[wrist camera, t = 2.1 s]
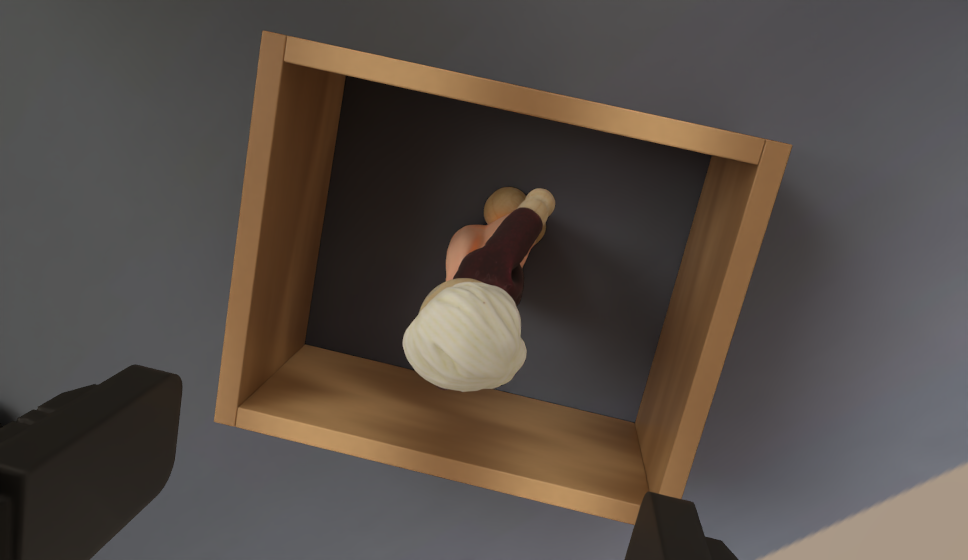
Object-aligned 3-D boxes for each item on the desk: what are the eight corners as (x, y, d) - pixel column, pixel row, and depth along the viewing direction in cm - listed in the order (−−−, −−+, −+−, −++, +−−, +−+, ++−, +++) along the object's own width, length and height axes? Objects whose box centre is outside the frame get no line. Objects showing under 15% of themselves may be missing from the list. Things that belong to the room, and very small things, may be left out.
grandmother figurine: (479, 150, 30) (420, 186, 18) (569, 179, 30) (573, 236, 17) (428, 321, 32) (342, 460, 20) (511, 349, 32) (479, 506, 19)
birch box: (285, 355, 33) (213, 422, 26) (330, 46, 29) (261, 29, 23) (648, 443, 32) (670, 534, 25) (738, 134, 29) (793, 144, 22)
